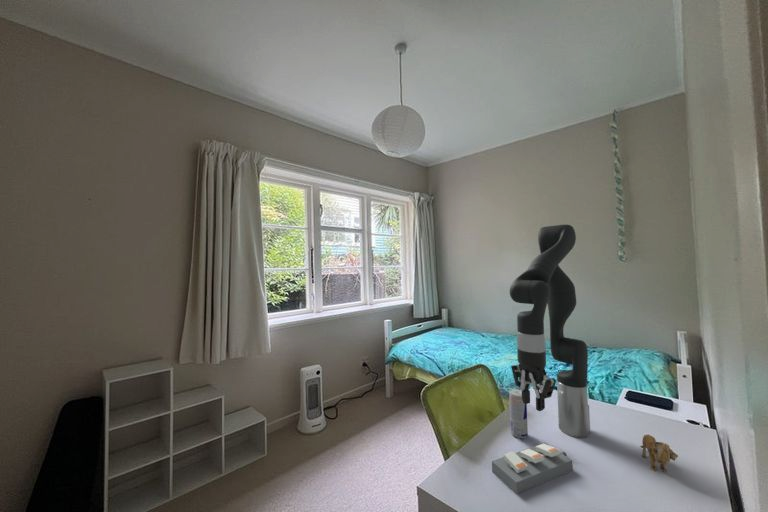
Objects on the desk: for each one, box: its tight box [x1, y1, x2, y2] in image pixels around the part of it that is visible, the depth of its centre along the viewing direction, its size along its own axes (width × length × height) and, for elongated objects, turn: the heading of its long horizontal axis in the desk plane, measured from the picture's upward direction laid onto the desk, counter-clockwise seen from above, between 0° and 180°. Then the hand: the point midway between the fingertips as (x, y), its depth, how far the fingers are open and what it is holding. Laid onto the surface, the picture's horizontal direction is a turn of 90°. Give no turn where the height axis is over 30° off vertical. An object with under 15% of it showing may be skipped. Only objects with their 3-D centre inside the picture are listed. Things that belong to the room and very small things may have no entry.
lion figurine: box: [639, 434, 679, 473], centre depth 87 cm, size 15×5×9 cm, turn 163°
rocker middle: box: [520, 448, 544, 463], centre depth 84 cm, size 4×5×2 cm
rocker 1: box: [503, 450, 528, 473], centre depth 82 cm, size 4×5×2 cm
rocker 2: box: [535, 443, 561, 457], centre depth 87 cm, size 4×5×2 cm
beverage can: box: [508, 388, 529, 439], centre depth 102 cm, size 6×6×15 cm
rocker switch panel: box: [491, 442, 574, 495], centre depth 85 cm, size 25×9×3 cm, turn 112°
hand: (533, 406), depth 84 cm, fingers open, 4 cm apart
